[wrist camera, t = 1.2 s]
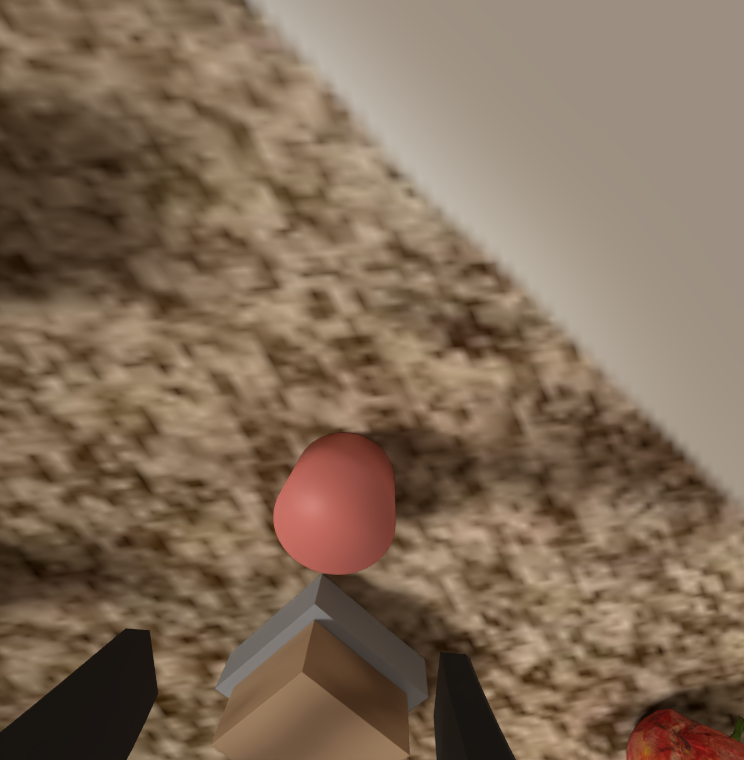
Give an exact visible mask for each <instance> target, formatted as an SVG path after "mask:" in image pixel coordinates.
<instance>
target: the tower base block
mask: <svg viewBox="0 0 744 760" xmlns="http://www.w3.org/2000/svg"><path fill="white" fill-rule="evenodd" d="M313 620H315V621H316V622H318V623H319V624H320V625H321V626H323V627H324V628H325V629H326V630H328V631H329V632H330V633H331V634H333V635H334V636H335V637H336V638H338V639H339V640H340V641H341V642H343V643H344V644H345V645H346V646H348V647H349V648H350V649H351V650H352V651H354V652H355V653H356V654H357V655H359V656H360V657H361V658H362V659H364V660H365V661H366V662H367V663H369V664H370V665H371V666H372V667H374V668H375V669H376V670H377V671H379V672H380V673H381V674H382V675H384V676H385V677H386V678H387V679H389V680H390V681H391V682H392V683H393V684H395V685H396V686H397V687H398V688H400V689H401V690H402V691H403V692H405V693H406V694H407V700H408V712H409V711H410V710H411V709H413V708H414V707H416V706H417V705H419V704H420V703H421V702H423V701H424V700H426V699H427V698H428V687H427V677H426V667H425V660H424V659H423V658H422V657H421V656H420V655H418V654H417V653H416V652H415V651H414V650H412V649H411V648H410V647H409V646H408V645H407V644H405V643H404V642H403V641H402V640H401V639H399V638H398V637H397V636H396V635H395V634H393V633H392V632H391V631H390V630H389V629H387V628H386V627H385V626H384V625H383V624H381V623H380V622H379V621H378V620H377V619H376V618H374V617H373V616H372V615H371V614H370V613H368V612H367V611H366V610H365V609H364V608H362V607H361V606H360V605H359V604H358V603H356V602H355V601H354V600H353V599H352V598H351V597H349V596H348V595H347V594H346V593H345V592H343V591H342V590H341V589H340V588H339V587H337V586H336V585H335V584H334V583H333V582H331V581H330V580H329V579H328V578H327V577H325V576H324V575H323V574H321V575H320V576H319V577H318V578H316V579H315V580H314V581H313V582H312V583H311V584H310V585H308V586H307V587H306V588H305V589H304V590H303V591H302V592H300V593H299V594H298V595H297V596H296V597H295V598H293V599H292V600H291V601H290V602H289V603H288V604H287V605H285V606H284V607H283V608H282V609H281V610H280V611H279V612H277V613H276V614H275V615H274V616H273V617H272V618H271V619H269V620H268V621H267V622H266V623H265V624H264V625H262V626H261V627H260V628H259V629H258V630H257V631H256V632H254V633H253V634H252V635H251V636H250V637H249V638H248V639H246V640H245V641H244V642H243V643H242V644H241V645H240V646H238V647H237V648H236V649H235V650H234V651H233V652H232V653H231V654H230V656H229V659H228V661H227V663H226V665H225V668H224V670H223V672H222V674H221V677H220V679H219V681H218V683H217V686H216V688H215V689H217V690H218V691H219V692H221V693H222V694H223V695H225V696H226V697H227V698H230V696H231V693H232V691H233V688H234V687H235V686H236V685H237V684H238V683H240V682H241V681H242V680H243V679H244V678H246V677H247V676H248V675H249V674H250V673H251V672H253V671H254V670H255V669H256V668H257V667H259V666H260V665H261V664H262V663H263V662H265V661H266V660H267V659H268V658H269V657H271V656H272V655H273V654H274V653H275V652H276V651H278V650H279V649H280V648H281V647H282V646H284V645H285V644H286V643H287V642H288V641H290V640H291V639H292V638H293V637H294V636H296V635H297V634H298V633H299V632H300V631H301V630H303V629H304V628H305V627H306V626H307V625H309V624H310V623H311V622H312V621H313Z"/></svg>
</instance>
